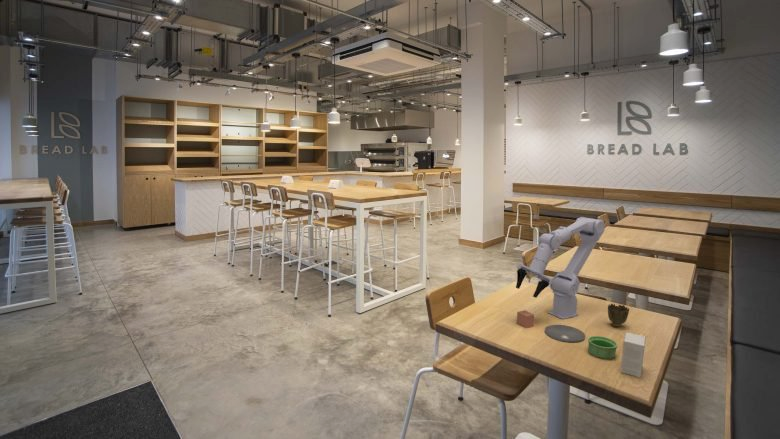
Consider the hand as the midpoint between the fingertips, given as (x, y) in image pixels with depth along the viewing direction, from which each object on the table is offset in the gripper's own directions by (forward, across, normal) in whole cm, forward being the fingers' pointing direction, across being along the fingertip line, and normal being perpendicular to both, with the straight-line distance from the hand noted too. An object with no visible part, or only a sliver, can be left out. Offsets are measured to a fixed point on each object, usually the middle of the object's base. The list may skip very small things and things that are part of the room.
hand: (525, 292), depth 160 cm
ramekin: (+9, +25, -20) cm, 33 cm away
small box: (+10, +29, -30) cm, 43 cm away
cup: (-4, +39, +1) cm, 39 cm away
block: (+11, +6, +3) cm, 13 cm away
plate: (+8, +18, -5) cm, 20 cm away
